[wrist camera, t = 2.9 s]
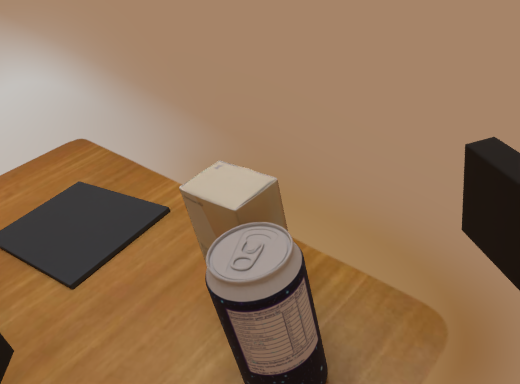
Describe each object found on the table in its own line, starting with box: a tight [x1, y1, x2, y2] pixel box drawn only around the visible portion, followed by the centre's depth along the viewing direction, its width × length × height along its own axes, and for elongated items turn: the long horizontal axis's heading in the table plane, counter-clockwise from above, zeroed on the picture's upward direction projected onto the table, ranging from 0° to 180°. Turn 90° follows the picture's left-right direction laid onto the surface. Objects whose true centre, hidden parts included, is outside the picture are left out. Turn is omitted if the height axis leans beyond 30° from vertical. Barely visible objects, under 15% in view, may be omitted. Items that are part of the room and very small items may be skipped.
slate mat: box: [0, 182, 170, 289], centre depth 54 cm, size 20×14×1 cm
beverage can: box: [205, 222, 327, 384], centre depth 27 cm, size 6×6×12 cm
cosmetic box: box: [179, 161, 288, 262], centre depth 33 cm, size 6×4×12 cm
